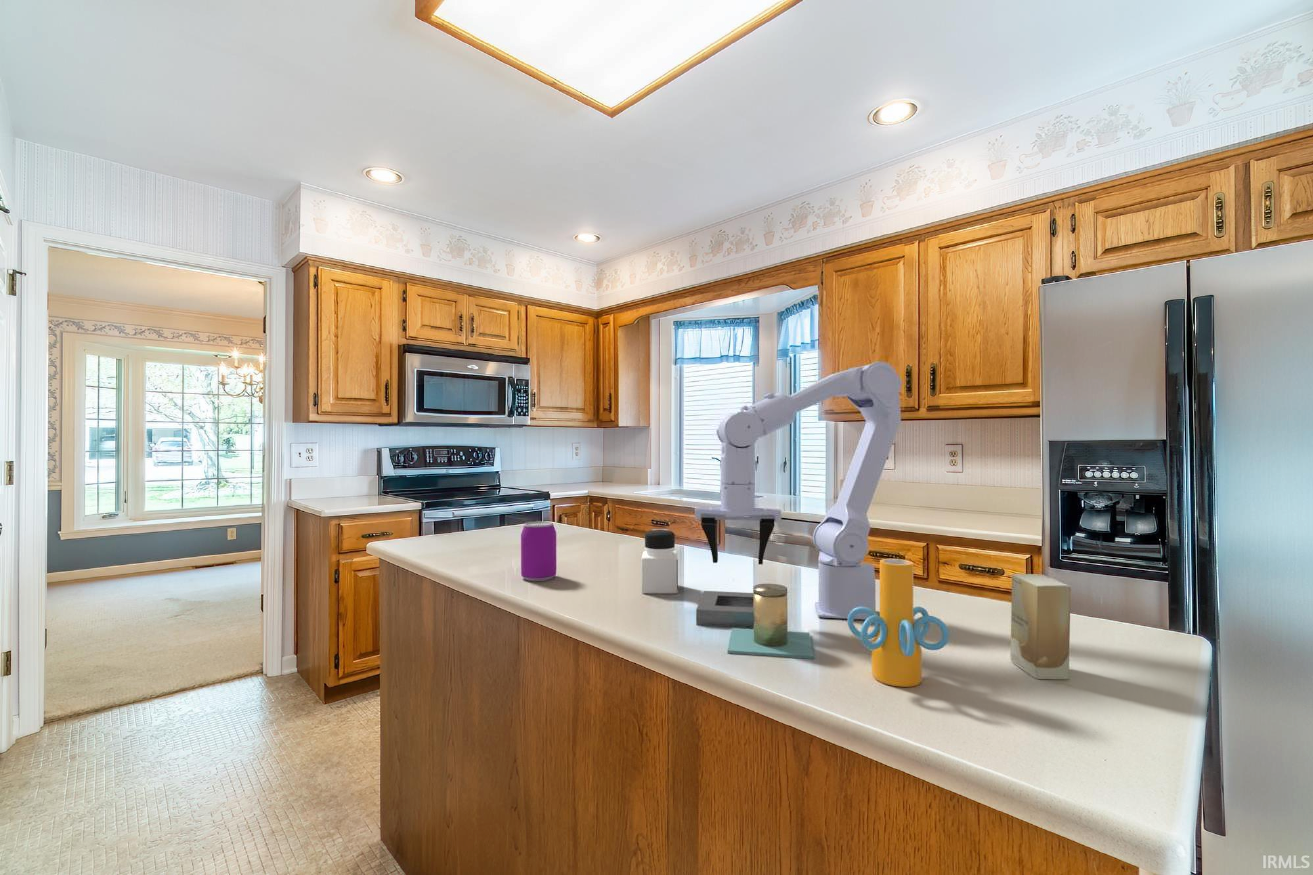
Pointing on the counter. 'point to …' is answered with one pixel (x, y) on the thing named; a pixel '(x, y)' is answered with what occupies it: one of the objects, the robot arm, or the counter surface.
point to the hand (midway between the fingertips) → (737, 562)
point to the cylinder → (897, 628)
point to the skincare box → (1040, 626)
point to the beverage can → (538, 551)
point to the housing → (725, 609)
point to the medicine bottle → (659, 563)
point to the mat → (795, 647)
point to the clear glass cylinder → (770, 615)
